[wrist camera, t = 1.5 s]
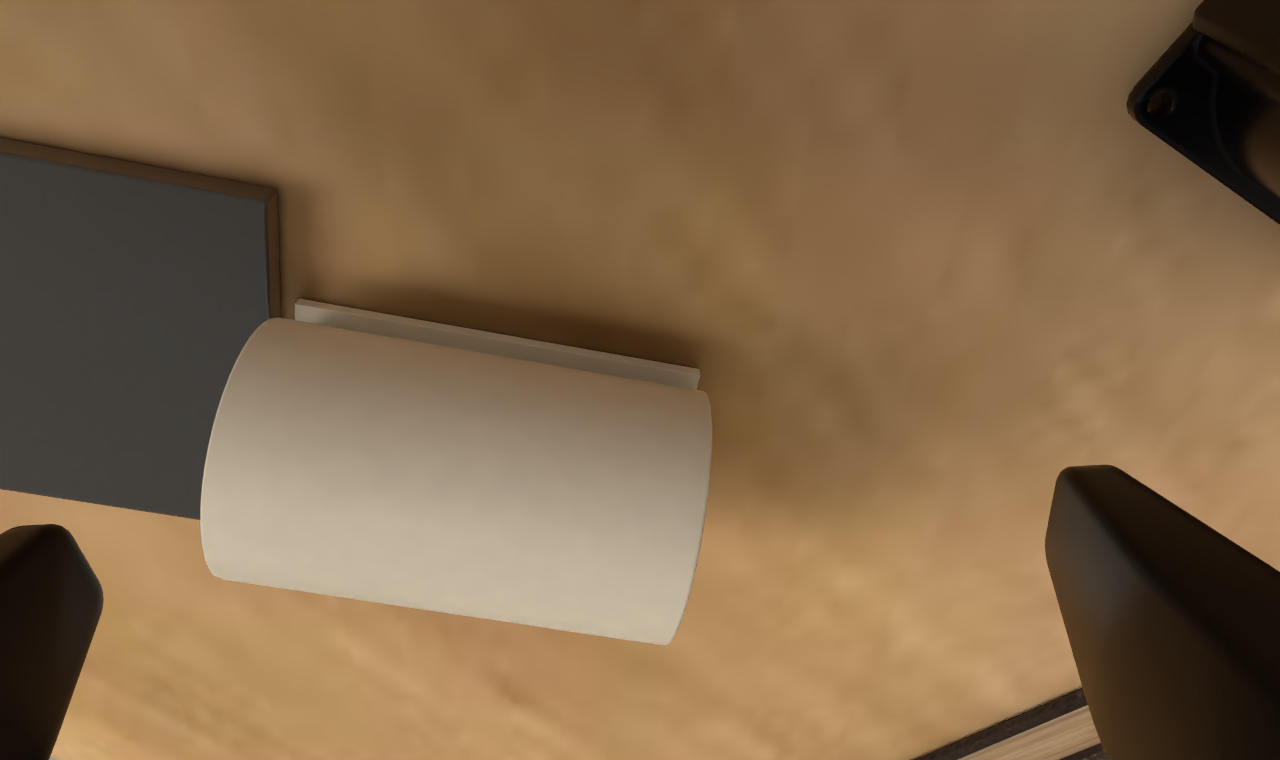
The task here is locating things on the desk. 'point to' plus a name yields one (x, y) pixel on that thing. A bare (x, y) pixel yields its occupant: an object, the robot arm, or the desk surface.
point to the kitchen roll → (459, 473)
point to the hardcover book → (1034, 736)
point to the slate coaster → (123, 322)
